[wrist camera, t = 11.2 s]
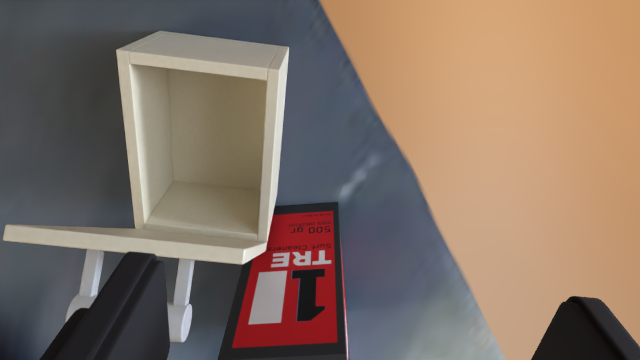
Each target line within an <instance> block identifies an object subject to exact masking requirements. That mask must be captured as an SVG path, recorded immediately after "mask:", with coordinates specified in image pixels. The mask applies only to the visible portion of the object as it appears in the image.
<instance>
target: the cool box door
mask: <svg viewBox="0 0 640 360" xmlns="http://www.w3.org/2000/svg"><path fill="white" fill-rule="evenodd" d="M3 240H4V241H13V242H23V243H32V244H42V245H52V246H62V247H72V248H82V249H87V252H86V257H85V263H84V269H83V274H82V280H81V286H80V291H79V294H78V295H76V296H75V297H74V299H73V300H72V301H71V303H70V305H69V308H68V311H67V314H66V322H67V321H68V319H69V318H70V316H71V315H72V314H73V313H74V312H75V311H76V310H78V309H79V308H89V307H90V306H91V304H92V303H93V301H94V300H95V298H96V297H97V296H98V295H97V292H98V286H99V281H100V275H101V269H102V263H103V257H104V251H112V252H122V253H127V252H129V251H133V252H143V253H153V254H155V255H156V256H161V257H171V258H180V259H179V266H178V272H177V279H176V286H175V293H174V300H173V302H167V307H168V321H169V335H170V341H173V342H184V341H185V340H186V338H187V336H188V333H189V329H190V325H191V319H192V306H191V304H189V297H190V290H191V283H192V276H193V269H194V262H195V260H201V261H211V262H221V263H231V264H241V265H242V264H244V263H246V262H248V261H250V260H251V259H253V258H255V257H256V256H258V255H260V254H262V253H263V252H265V251H266V246H267V243H266V242H257V241H248V240H238V239H228V238H219V237H209V236H199V235H190V234H180V233H171V232H161V231H151V230H142V229H127V228H98V227H69V226H40V225H11V224H8V225H6V227H5V232H4V236H3Z"/></svg>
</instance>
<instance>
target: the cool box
mask: <svg viewBox="0 0 640 360" xmlns="http://www.w3.org/2000/svg"><path fill="white" fill-rule="evenodd" d="M116 53H117V62H118V71H119V81H120V90H121V99H122V109H123V118H124V127H125V137H126V146H127V155H128V165H129V174H130V183H131V193H132V202H133V211H134V221H135V229H142V230H151V231H161V232H171V233H180V234H190V235H199V236H209V237H219V238H228V239H238V240H248V241H257V242H266V243H267V241H268V236H269V231H270V226H271V221H272V216H273V212H274V207H275V202H276V197H277V188H278V176H279V164H280V152H281V140H282V128H283V116H284V104H285V92H286V80H287V67H288V55H289V47H285V46H277V45H269V44H261V43H253V42H245V41H237V40H229V39H221V38H213V37H205V36H198V35H190V34H182V33H174V32H166V31H158V32H156V33H154V34H151V35H149V36H147V37H144V38H142V39H140V40H138V41H135V42H133V43H131V44H129V45H126V46H124V47H122V48H119V49H117V50H116Z"/></svg>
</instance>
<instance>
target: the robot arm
mask: <svg viewBox="0 0 640 360" xmlns="http://www.w3.org/2000/svg"><path fill="white" fill-rule="evenodd" d="M169 348H170V335H169V321H168V307H167V293H166V279H165V265H164V262H163V261H157V257H156V255H155V254H153V253H143V252H133V251H129V252H127V253H126V254H125V255H124V257H123V258H122V260H121V261H120V263H119V264H118V266H117V267H116V269H115V270H114V272H113V273H112V275H111V276H110V278H109V279H108V281H107V282H106V284H105V285H104V287H103V288H102V290H101V291H100V293H99V294H98V296H97V297H96V298H95V300H94V301H93V303H92V304H91V306H90V307H89V308H79V309H78V310H76V311H75V312H74V313H73V314H72V315H71V316H70V318H69V319H68V321H67V322H66V323H65V325H64V326H63V328H62V329H61V330H60V332H59V333H58V335H57V336H56V337H55V339H54V340H53V342H52V343H51V344H50V346H49V347H48V349H47V350H46V351H45V353H44V354H43V356H42V357H41V359H40V360H167V357H168V353H169ZM531 360H640V347H639V345H638V344H637V343H636V342H635V340H634V339H633V338H632V337H631V336H630V334H629V333H628V332H627V331H626V329H625V328H624V327H623V326H622V324H621V323H620V322H619V321H618V319H617V318H616V317H615V316H614V315H613V313H612V312H611V311H610V310H609V308H608V307H607V306H606V305H605V304H604V303H603V302H602V301H601V300H599V299H597V298H587V297H577V296H572V297H570V298H569V299H568V300H567V301H566V302H563V303H561V305H560V306H559V308H558V310H557V312H556V314H555V316H554V318H553V319H552V321H551V323H550V325H549V327H548V329H547V331H546V333H545V334H544V336H543V338H542V340H541V342H540V344H539V346H538V348H537V350H536V351H535V354H534V355H533V357H532V359H531Z"/></svg>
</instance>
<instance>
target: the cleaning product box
mask: <svg viewBox="0 0 640 360" xmlns="http://www.w3.org/2000/svg"><path fill="white" fill-rule="evenodd" d="M218 360H350V359H349V343H348V326H347V310H346V298H345V285H344V273H343V260H342V247H341V235H340V222H339V210H338V202H333V203H319V204H304V205H290V206H276V207H274V212H273V216H272V221H271V226H270V231H269V236H268V241H267V246H266V251H265V252H263V253H262V254H260V255H258V256H256V257H255V258H253V259H251V260H250V261H248V262H246V263H244V264H243V267H242V270H241V274H240V278H239V282H238V285H237V289H236V293H235V297H234V300H233V304H232V308H231V312H230V315H229V319H228V323H227V327H226V330H225V334H224V338H223V342H222V345H221V349H220V353H219V356H218Z"/></svg>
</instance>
